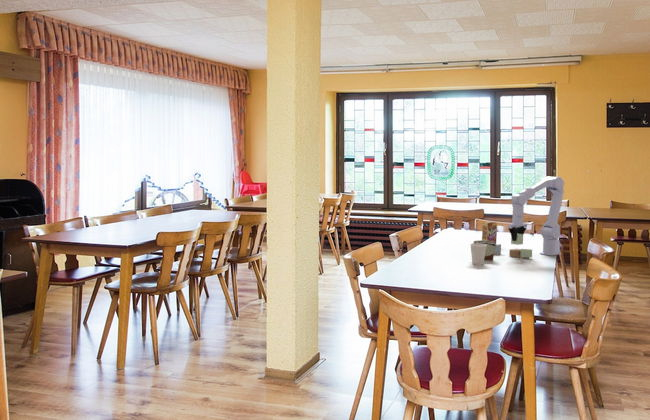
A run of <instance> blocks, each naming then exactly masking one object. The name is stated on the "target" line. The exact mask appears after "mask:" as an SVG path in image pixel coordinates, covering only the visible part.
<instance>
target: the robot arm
mask: <svg viewBox="0 0 650 420" xmlns="http://www.w3.org/2000/svg"><path fill="white" fill-rule="evenodd" d="M564 185H565V181H564V179H563V178H562V177H561V176H545V177H543V178H542V179H541V181H539V182H538V183H536V184H535V185H533V186H532V187H531V186H528V187H525V188H524V189H523V190H522V191H519V192H518V193H517V194H513V195H512V197H511V199H510V202H511V205H512V220H511V221H512V222H511V223H510V224H507V229H508V231H509V233H510V238H511V237H512V241H516V239H517V234H523V236H524V235H525V232H526V231H527V227H528V223H527V222H524V211H525V210H524V207H525V206H524V205H526V203H527V201H528V200H530V199H532V198H533V197H534V196H535V195H536V193H538V192H540V191H541V190H543V189H545V188H546V189H548V190H549V191H550V192H551V193H552V197H551V202H550V205H549V206H550V207H549V211H548V216H547V220H546V221H545V222H544V223H543V225H542V227H541V229H540V235H541V236H542V239H543V242H542V252H539V254H540V255H544V256H557V255H562V253H561V241H560V240H559V238H560V236H561V229H560V228H561V226H560V225H559V223H558V221H559V216H560V212H561V208H562V207H561V206H562V203H563V202H562V201H563V197H564V193H565V192H564Z"/></svg>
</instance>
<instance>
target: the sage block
mask: <svg viewBox="0 0 650 420" xmlns="http://www.w3.org/2000/svg"><path fill="white" fill-rule="evenodd" d="M510 238H511V239H510V240H511V241H510V244H511V245H517V246H520V245H524V235H523V234H517V239H516V241H512V237H511V236H510Z"/></svg>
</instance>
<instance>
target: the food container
mask: <svg viewBox="0 0 650 420" xmlns="http://www.w3.org/2000/svg"><path fill="white" fill-rule="evenodd" d="M473 243H480V244H486V245H487V246H486V251H485V258H484V260H485V261H488V262H494V256H495V254H494V251H495V246H496V244H497V242H496V243H495V242H494V241H484V240H482V239H481V240H479V239H478V240H474V241H473ZM473 243H472V244H473ZM485 261H484V262H485Z"/></svg>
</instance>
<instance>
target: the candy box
mask: <svg viewBox="0 0 650 420" xmlns="http://www.w3.org/2000/svg"><path fill="white" fill-rule="evenodd" d="M497 232H498V222H497V221H484V222H482V231H481V233H482V235H481V240H484V241H494V242H495V243H496V244H497V239H498V238H497Z"/></svg>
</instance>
